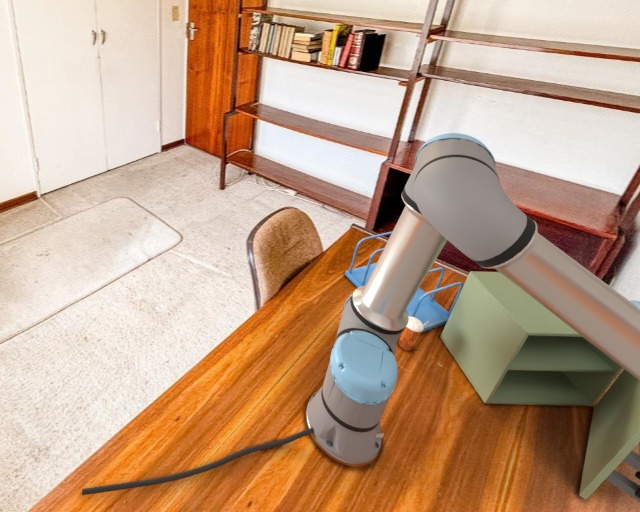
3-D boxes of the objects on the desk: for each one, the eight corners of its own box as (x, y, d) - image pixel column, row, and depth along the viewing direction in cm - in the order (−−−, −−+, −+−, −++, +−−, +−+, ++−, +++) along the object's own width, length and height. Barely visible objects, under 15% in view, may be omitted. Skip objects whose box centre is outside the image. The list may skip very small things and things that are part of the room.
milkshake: (420, 355, 102) (432, 328, 98) (398, 351, 103) (409, 324, 99) (414, 340, 106) (425, 313, 102) (393, 336, 107) (403, 310, 103)
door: (635, 431, 87) (699, 361, 77) (629, 530, 71) (708, 458, 61) (593, 407, 91) (648, 338, 81) (578, 495, 76) (644, 423, 66)
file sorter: (344, 275, 128) (354, 237, 121) (385, 264, 134) (398, 227, 127) (406, 338, 107) (423, 296, 100) (452, 322, 112) (471, 281, 106)
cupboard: (593, 406, 92) (648, 336, 82) (484, 403, 92) (526, 332, 81) (532, 339, 108) (571, 274, 98) (439, 337, 108) (470, 271, 98)
